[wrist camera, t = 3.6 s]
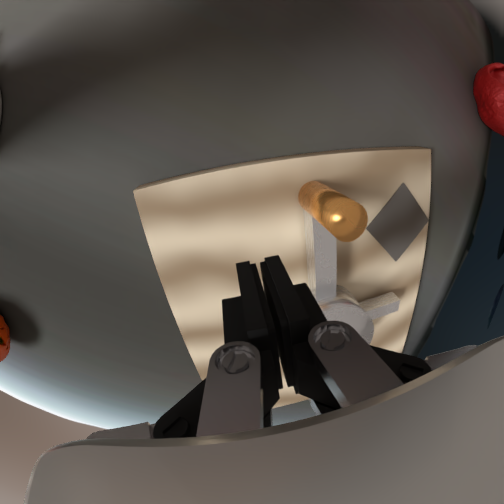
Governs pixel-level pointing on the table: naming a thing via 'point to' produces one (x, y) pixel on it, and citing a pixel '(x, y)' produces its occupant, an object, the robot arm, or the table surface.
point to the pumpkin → (4, 339)
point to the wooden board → (287, 235)
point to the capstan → (325, 257)
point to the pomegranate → (490, 96)
